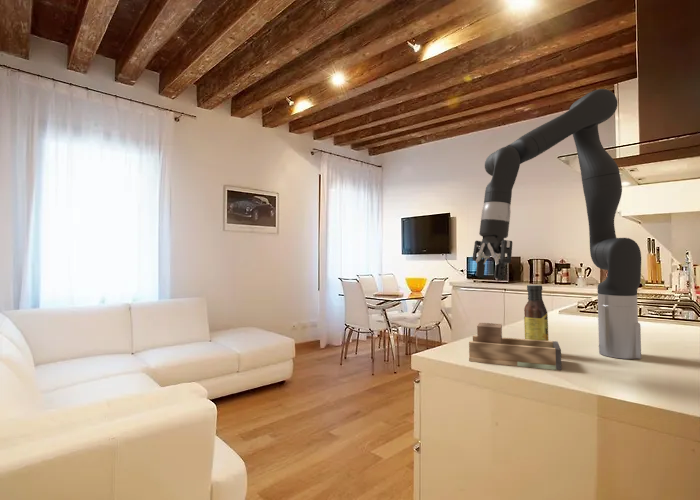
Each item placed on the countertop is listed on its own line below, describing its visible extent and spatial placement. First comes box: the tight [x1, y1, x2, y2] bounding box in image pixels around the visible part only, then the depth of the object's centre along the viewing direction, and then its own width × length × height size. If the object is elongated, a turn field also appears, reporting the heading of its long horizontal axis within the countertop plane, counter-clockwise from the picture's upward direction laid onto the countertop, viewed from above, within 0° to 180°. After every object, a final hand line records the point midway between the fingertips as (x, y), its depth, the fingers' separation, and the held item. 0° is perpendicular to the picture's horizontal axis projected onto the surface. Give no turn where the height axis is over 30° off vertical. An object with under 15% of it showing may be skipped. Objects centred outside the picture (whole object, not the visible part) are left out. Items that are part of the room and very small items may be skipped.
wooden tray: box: [468, 335, 562, 371], centre depth 102 cm, size 22×11×5 cm, turn 65°
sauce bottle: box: [523, 284, 550, 341], centre depth 110 cm, size 6×6×20 cm
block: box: [476, 322, 503, 344], centre depth 105 cm, size 6×6×8 cm
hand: (488, 277), depth 104 cm, fingers open, 8 cm apart
